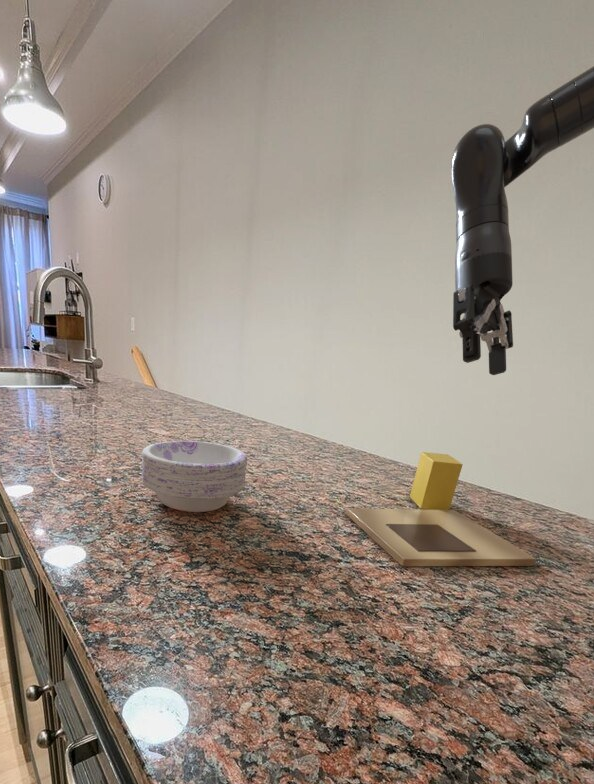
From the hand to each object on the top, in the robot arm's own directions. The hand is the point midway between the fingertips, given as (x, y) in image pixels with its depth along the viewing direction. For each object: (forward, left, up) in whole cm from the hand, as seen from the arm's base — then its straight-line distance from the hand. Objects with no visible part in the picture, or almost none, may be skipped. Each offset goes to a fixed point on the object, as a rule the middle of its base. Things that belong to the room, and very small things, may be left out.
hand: (485, 367), depth 68 cm
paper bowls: (+44, +3, -22) cm, 50 cm away
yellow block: (+4, +2, -22) cm, 22 cm away
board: (+12, +15, -22) cm, 29 cm away
